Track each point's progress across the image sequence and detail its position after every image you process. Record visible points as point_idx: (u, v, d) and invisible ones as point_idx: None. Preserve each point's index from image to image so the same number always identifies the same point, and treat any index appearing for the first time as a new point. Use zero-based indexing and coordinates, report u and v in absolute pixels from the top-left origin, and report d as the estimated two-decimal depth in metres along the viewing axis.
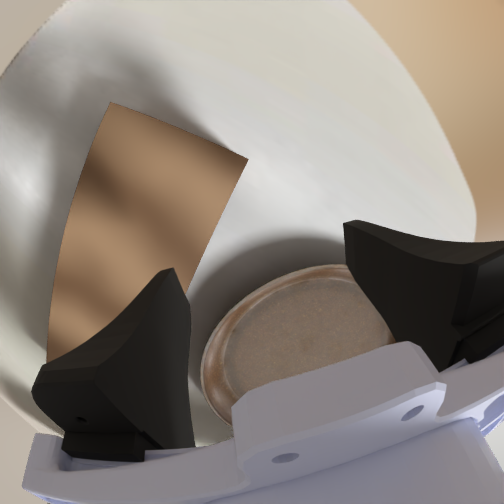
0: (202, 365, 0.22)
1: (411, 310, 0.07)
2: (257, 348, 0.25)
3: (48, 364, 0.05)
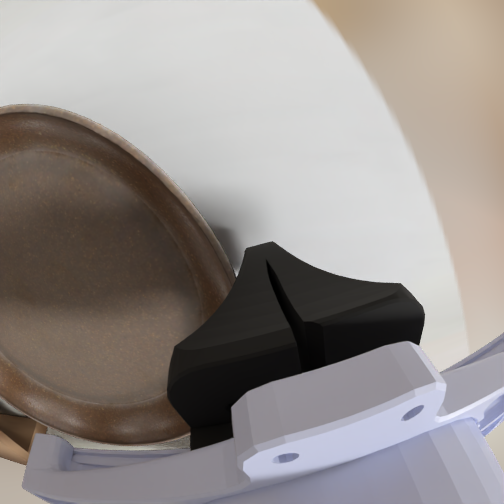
0: None
1: (297, 349, 0.07)
2: (6, 331, 0.13)
3: (185, 343, 0.05)
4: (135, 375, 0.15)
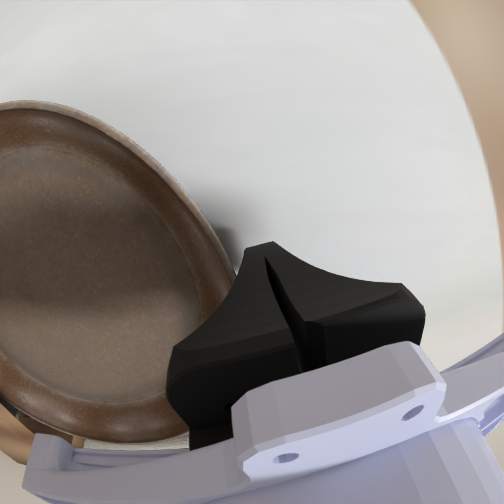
0: None
1: (297, 349, 0.07)
2: (2, 326, 0.13)
3: (184, 344, 0.05)
4: (131, 375, 0.15)
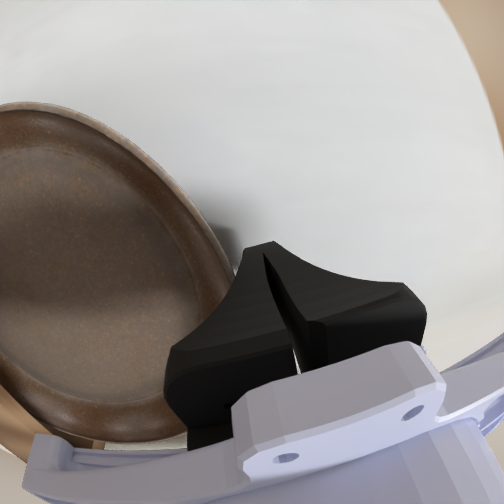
0: None
1: (299, 349, 0.07)
2: (2, 325, 0.13)
3: (182, 344, 0.05)
4: (130, 375, 0.15)
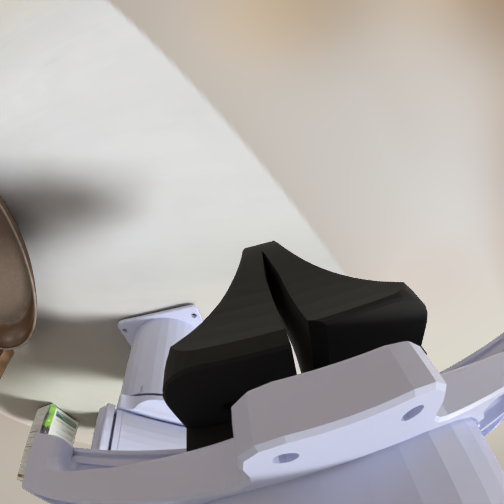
0: None
1: (299, 349, 0.07)
2: None
3: (181, 344, 0.05)
4: (10, 299, 0.22)
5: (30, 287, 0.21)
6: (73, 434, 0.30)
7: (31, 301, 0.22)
